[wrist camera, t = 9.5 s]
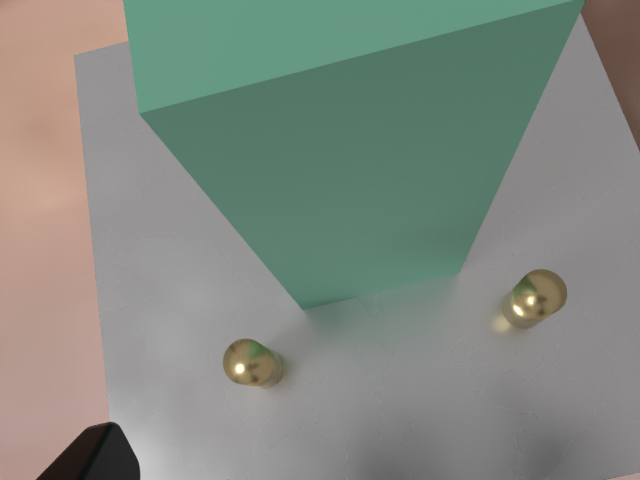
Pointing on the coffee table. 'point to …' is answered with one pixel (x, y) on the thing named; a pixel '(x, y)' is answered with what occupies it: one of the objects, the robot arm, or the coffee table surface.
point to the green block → (347, 123)
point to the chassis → (375, 315)
